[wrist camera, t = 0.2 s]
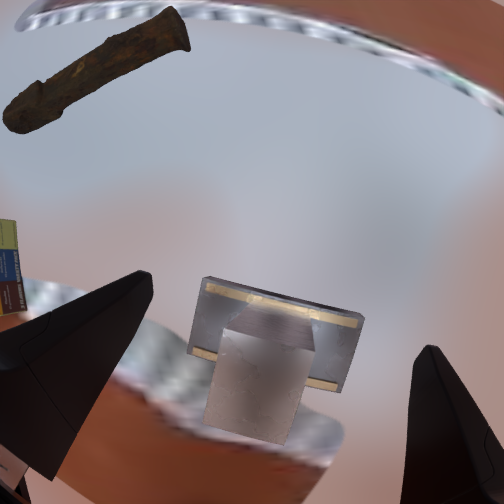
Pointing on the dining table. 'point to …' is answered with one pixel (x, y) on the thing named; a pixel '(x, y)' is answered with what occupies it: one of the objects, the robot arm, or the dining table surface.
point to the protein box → (10, 271)
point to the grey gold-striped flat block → (322, 316)
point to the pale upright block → (261, 372)
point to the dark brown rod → (96, 70)
